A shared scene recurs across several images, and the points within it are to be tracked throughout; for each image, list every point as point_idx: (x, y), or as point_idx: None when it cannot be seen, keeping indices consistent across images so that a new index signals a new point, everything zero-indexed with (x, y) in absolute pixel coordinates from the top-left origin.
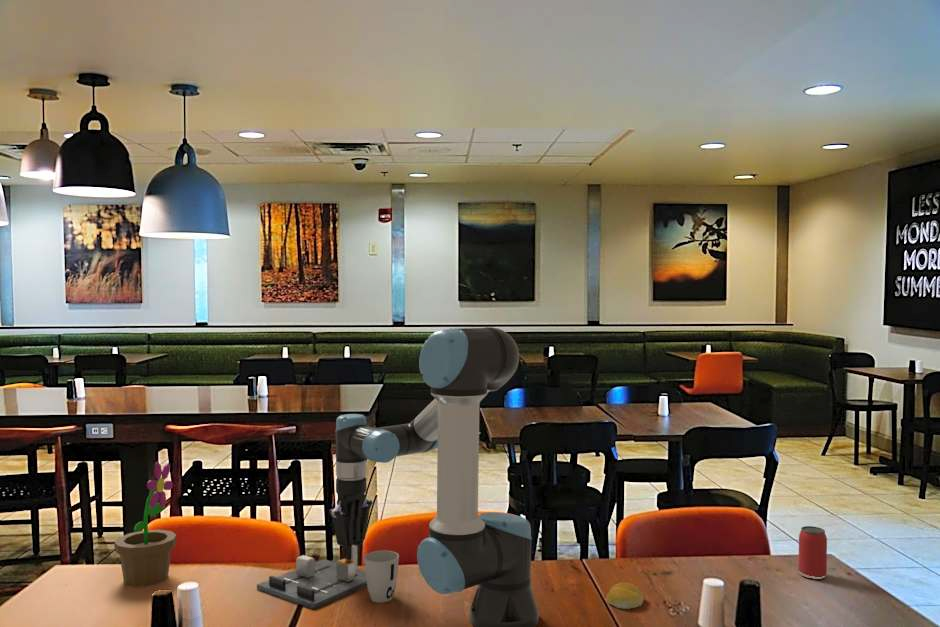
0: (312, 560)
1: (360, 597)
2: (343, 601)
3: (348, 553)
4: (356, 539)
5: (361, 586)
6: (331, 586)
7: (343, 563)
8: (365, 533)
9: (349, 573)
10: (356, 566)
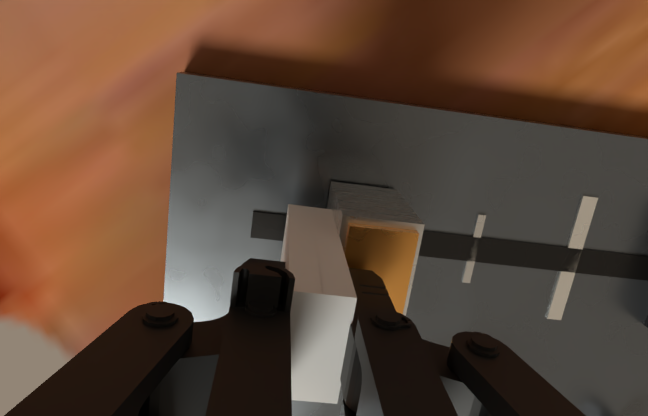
0: None
1: (490, 10)
2: (583, 70)
3: (382, 298)
4: (289, 338)
5: (364, 97)
6: (493, 237)
7: (407, 281)
8: (103, 339)
9: (395, 202)
10: (298, 217)
